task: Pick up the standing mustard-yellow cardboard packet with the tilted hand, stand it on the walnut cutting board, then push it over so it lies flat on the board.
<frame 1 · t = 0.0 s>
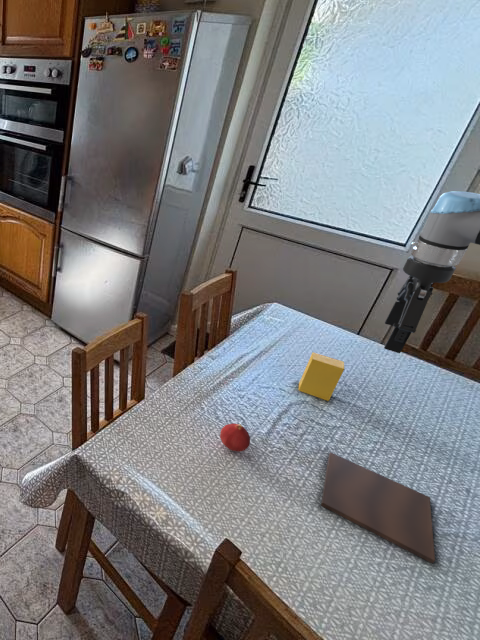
hand: (391, 337, 101), 20 cm above the table, tool pointing down, fingers open, 13 cm apart
board: (374, 502, 84), on the table
red round piece: (230, 449, 96), on the table
packet: (313, 392, 112), on the table
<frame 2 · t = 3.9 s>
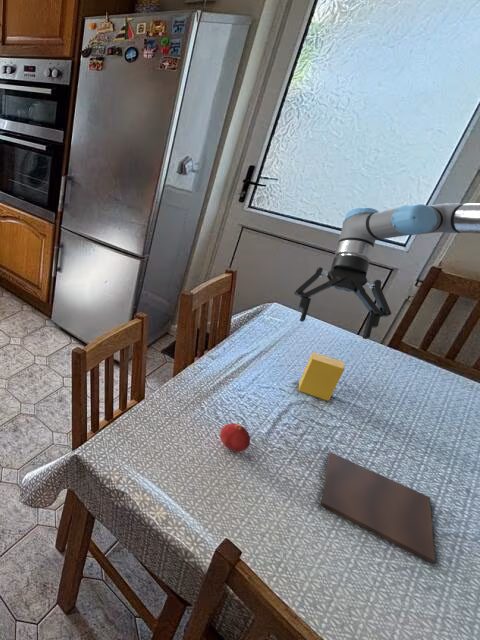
hand: (333, 328, 112), 15 cm above the table, tool tilted 45°, fingers open, 13 cm apart
nothing on the table moved.
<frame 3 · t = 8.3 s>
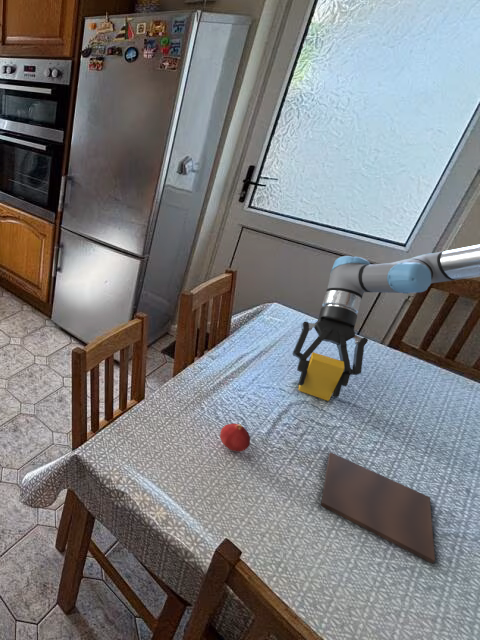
hand: (317, 390, 108), 3 cm above the table, tool tilted 45°, fingers closed on packet, 6 cm apart
packet: (313, 392, 112), on the table, touching gripper
everything else where it was.
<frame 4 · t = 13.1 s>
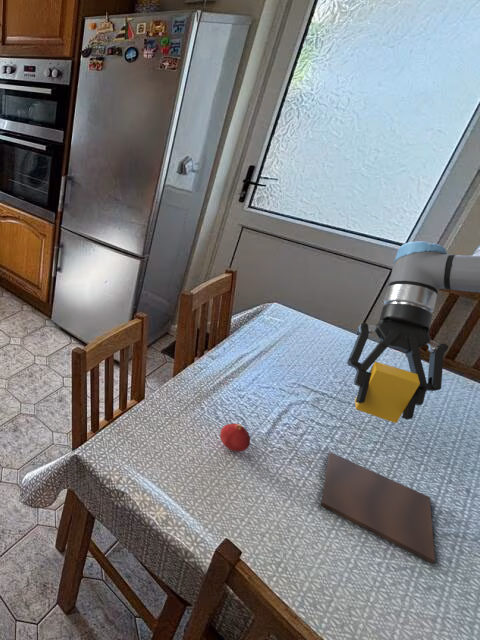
hand: (383, 409, 85), 16 cm above the table, tool tilted 45°, fingers closed on packet, 6 cm apart
packet: (374, 411, 89), point 13 cm above the table, touching gripper
everything else where it was.
when the fingers open (4 cm above the table, at t = 17.9 s): packet stays where it is, resting on board.
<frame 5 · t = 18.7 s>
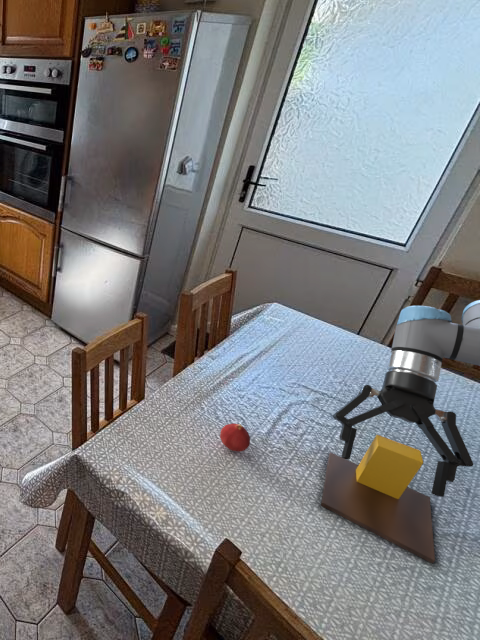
hand: (389, 476, 83), 6 cm above the table, tool tilted 45°, fingers open, 13 cm apart
packet: (376, 484, 87), point 1 cm above the table, touching board
everything else where it was.
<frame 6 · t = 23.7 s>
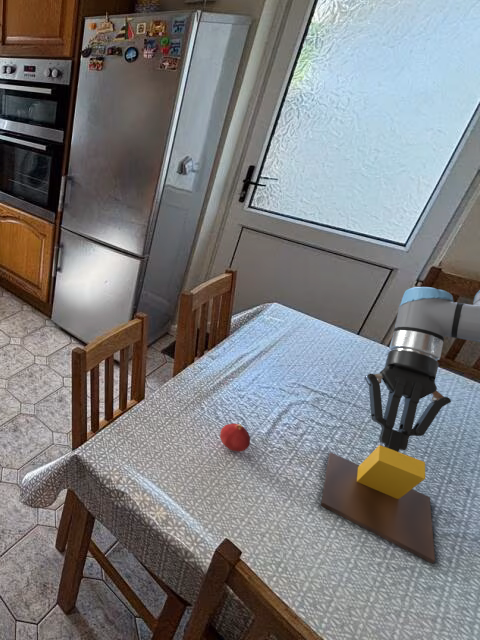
hand: (388, 461, 85), 7 cm above the table, tool tilted 45°, fingers closed
packet: (377, 482, 86), point 2 cm above the table, tilted 19°, touching board
everything else where it was.
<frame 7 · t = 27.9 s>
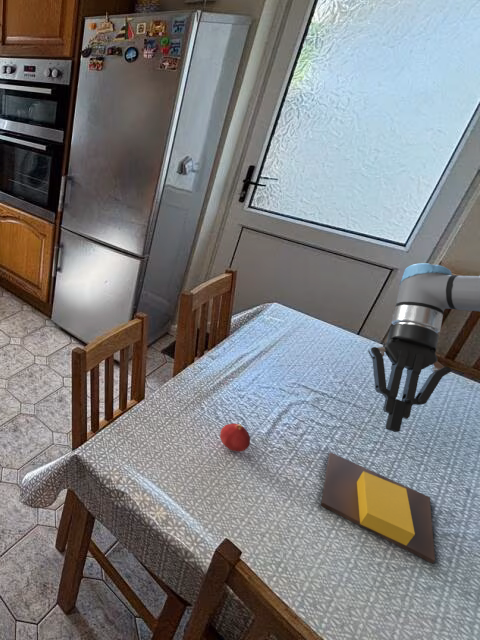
hand: (392, 430, 88), 10 cm above the table, tool tilted 45°, fingers closed
packet: (380, 485, 85), point 3 cm above the table, tilted 90°, touching board
everything else where it was.
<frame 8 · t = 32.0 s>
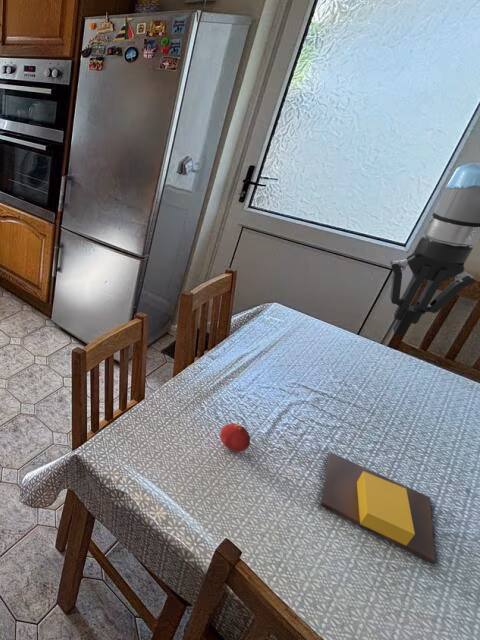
hand: (398, 332, 96), 24 cm above the table, tool pointing down, fingers closed
nothing on the table moved.
at the end: packet tilted 90°; packet inside the target area on the board (2.7 cm from its centre), point 2.7 cm above the board's base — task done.
